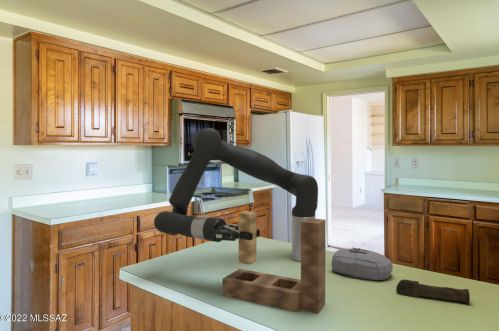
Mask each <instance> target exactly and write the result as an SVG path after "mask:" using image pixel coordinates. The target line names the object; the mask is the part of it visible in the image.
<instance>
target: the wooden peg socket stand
mask: <svg viewBox="0 0 499 331" xmlns="http://www.w3.org/2000/svg"><path fill="white" fill-rule="evenodd" d="M326 222H327V220H326V219H323V218H315V219H314V218H307V219H305V220H303V221H302V222H301V261H300V278H299V279H298V278H293V277H288V276H283V275H282V276H281V275H276V274H270V273H265V272H261V271H260V272H259V271H255V270H249V269H248V270H247V269H243V268H238V269H236V270H235V271H233V272H231V273H230V274H228V275H226V276H224V277H223V278H222V296H225V297H229V298H233V299H237V300H243V301H248V302H251V303H256V304H260V305H265V306H269V307H273V308H277V309H282V310H287V311H291V312H296V313H299V312H300V311H305V312H306V311H307V312H311V313H316V314H319V313H320V312H321V311H322V310H323V308H324V307H325V306H326V249H327V248H326V246H327V245H326V244H327V243H326V242H327V241H326V239H327V238H326V234H327V232H326V228H327V227H326Z"/></svg>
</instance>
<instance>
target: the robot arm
mask: <svg viewBox="0 0 499 331" xmlns="http://www.w3.org/2000/svg"><path fill="white" fill-rule="evenodd" d="M191 143H192V144H191V145H192V147H193V153H192V155H191V157H190V160H189V162H188V163H187V165H186V168H184V170H183V172H182V174H181V175H180V177H179V178H178V180H177V182H176V183H175V186H174V188H173V190H172V193H171V194H170V197H169V199H168V203H169V204H170V205H171V207H172V209H171V211H169V210H166V211H165V210H163V211H160V212H159V213H158V214H156V216H155V217H154V220H153V225H154V228H155V229H156V230H157V231H158V232H160V233H163V234H167V235H170V236H178V235H180V236H184V237H187V238H194V239H198V240H202V241H207V242H212V243H213V242H214V243H220V242H222V241H226V242H228V241H229V242H235V241H237V240H238V241H239V240H240V239H244V240H253V233H251V232H243V231H239V222H238V223H236V224H233V223H227V222H226V220H224V218H223V217H213V216H206V215H202V216H197V215H188V211H189V210H188V209H189V205H190V204H191V202H192V199H193V198H194V194H195V192H196V190H197V187H198V186H199V184H200V181H201V179H202V177H203V174H204V173H205V171H206V168H208V166H209V164H210V162H211V160H212V159H213V160H217V161H219V162H223V163H225V164H227V165H228V166H230V167H232V168H234V169H236V170H237V171H240V172H242V173H244V174H245V175H248V176H250V177H252V178H254V179H257V180H260V181H262V182H265V183H269V184H272V185H274V186H275V185H276V186H277V187H280V188H281V189H283V190H285V191H287V192H288V193H290V194H291V195H293V196H295V205H294V206H293V207H292V208H291V259H292V260H294V261H296V262H297V261H298V262H301V222H302V221H303V220H305V219H307V218H314V219H316V211H317V209H318V204H319V203H318V202H319V201H318V199H319V185H318V182H317V180H316V178H314V176H312V175H307V174H301V173H298V172H297V173H296V172H295V171H294V172H293V171H292V170H289V169H286V168H284V167H282V166H281V165H279V164H278V163H277V162H276V161H274V160H273V159H272V158H270V157H268V156H266V155H265V154H262V153H260V152H258V151H255V150H252V149H249V148H247V147H246V148H245V147H243V146H238V145H234V144H231V143H229V142H227V141H225V140H222V137H221V134H220V132H219V131H218V130H217V129H215V128H213V127H207V128H202V129H201V130H199V131H198V132H196V133H195V134H194V135H193V138H192V142H191ZM259 237H261V229H258V228H257V238H259Z"/></svg>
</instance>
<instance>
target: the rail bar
mask: <svg viewBox="0 0 499 331" xmlns="http://www.w3.org/2000/svg"><path fill="white" fill-rule="evenodd" d="M257 215H258V213H257V211H251V210H248V211H247V210H244V211H241V212H240V211H239V212H238V223H239V231H243V232H251V233H253V240H244V239H240V240H238V263H239V264H245V265H250V266H251V265H252V264H254V263H255V262H257V257H258V256H257V254H258V253H257V252H258V251H257V250H258V248H257V238H258V237H257V229H258V227H257V222H258V221H257Z"/></svg>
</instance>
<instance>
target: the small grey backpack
mask: <svg viewBox="0 0 499 331" xmlns="http://www.w3.org/2000/svg"><path fill="white" fill-rule="evenodd" d="M393 267H394V266H393V264H392V261H391V260H390V259H389V258H388V257H386V256H385V255H384V254H381V253H379V252H375V251H374V250H373V251H372V250H369V249H368V250H367V249H364V248H356V247H352V248H342V249H338V250H336V251H335V252H334V253H333V256H332V258H331V269H332V271H333V272H335V273H338V274H339V275H343V276H347V277H351V278H355V279H360V280H361V279H362V280H370V281H383V280H387V279H389V278H390V277H391V275H392V274H391V273H392V272H393V269H394V268H393Z"/></svg>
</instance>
